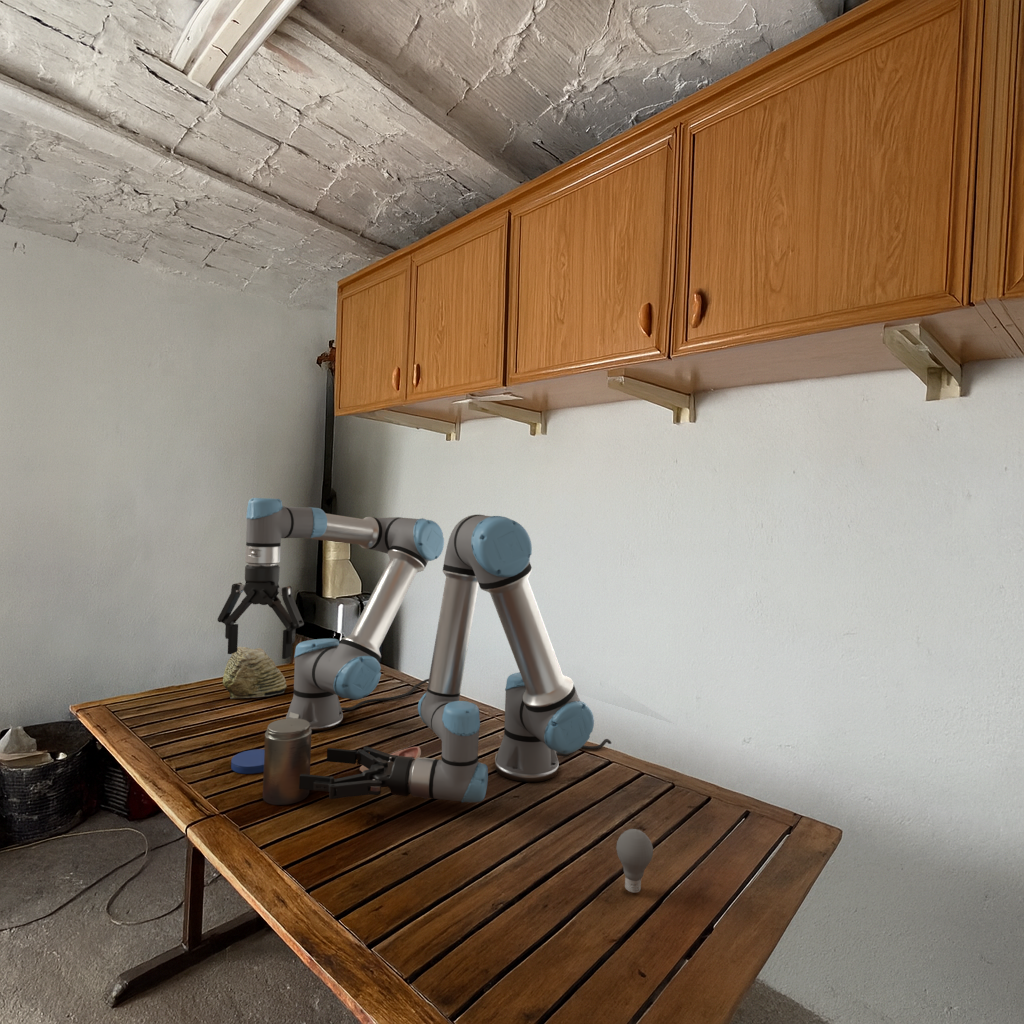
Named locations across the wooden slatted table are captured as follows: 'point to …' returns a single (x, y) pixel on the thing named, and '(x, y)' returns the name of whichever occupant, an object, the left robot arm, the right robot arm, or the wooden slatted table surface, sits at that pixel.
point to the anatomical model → (403, 754)
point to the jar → (286, 760)
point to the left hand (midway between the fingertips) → (259, 655)
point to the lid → (248, 762)
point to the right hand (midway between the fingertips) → (314, 767)
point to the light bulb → (634, 857)
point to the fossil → (252, 674)
